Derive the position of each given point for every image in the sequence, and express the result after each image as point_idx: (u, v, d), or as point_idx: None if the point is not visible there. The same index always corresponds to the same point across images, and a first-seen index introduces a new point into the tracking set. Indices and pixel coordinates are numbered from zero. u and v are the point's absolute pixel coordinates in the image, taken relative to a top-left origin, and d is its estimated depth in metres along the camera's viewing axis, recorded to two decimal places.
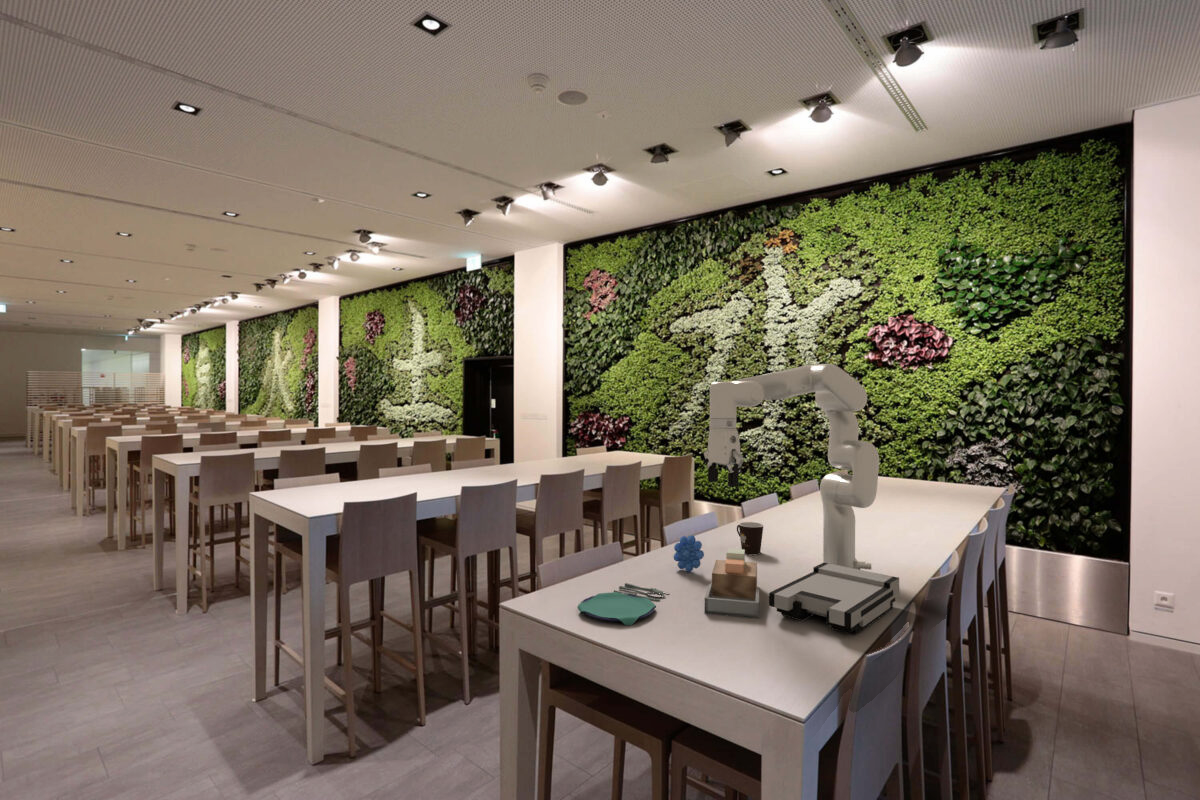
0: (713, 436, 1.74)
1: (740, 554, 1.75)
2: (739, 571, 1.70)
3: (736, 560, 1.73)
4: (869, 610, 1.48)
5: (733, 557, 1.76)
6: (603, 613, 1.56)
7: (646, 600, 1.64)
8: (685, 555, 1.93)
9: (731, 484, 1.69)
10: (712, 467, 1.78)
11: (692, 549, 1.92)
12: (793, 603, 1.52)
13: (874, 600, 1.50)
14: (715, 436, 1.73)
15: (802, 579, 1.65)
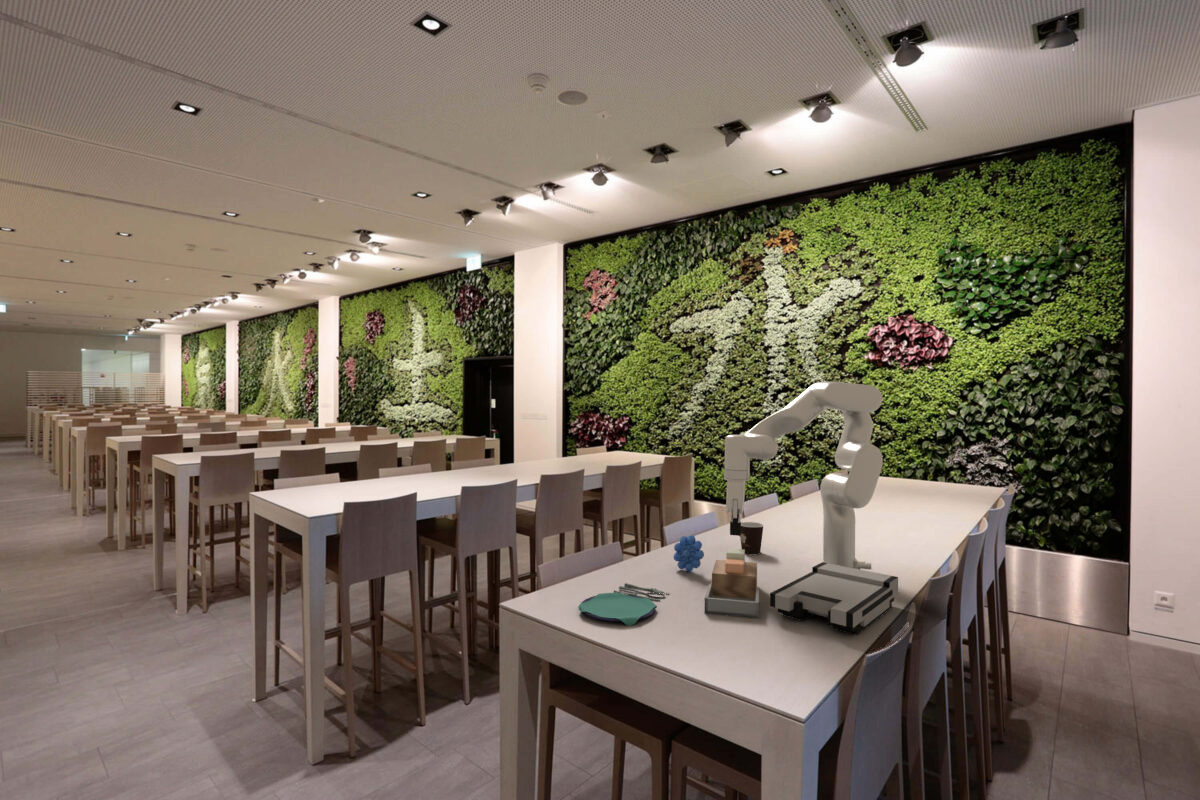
0: (744, 487, 1.84)
1: (740, 554, 1.75)
2: (739, 571, 1.70)
3: (736, 560, 1.73)
4: (870, 610, 1.48)
5: (733, 557, 1.76)
6: (604, 613, 1.55)
7: (646, 600, 1.64)
8: (685, 555, 1.93)
9: None
10: None
11: (692, 549, 1.92)
12: (794, 603, 1.52)
13: (874, 600, 1.50)
14: None
15: (802, 579, 1.65)
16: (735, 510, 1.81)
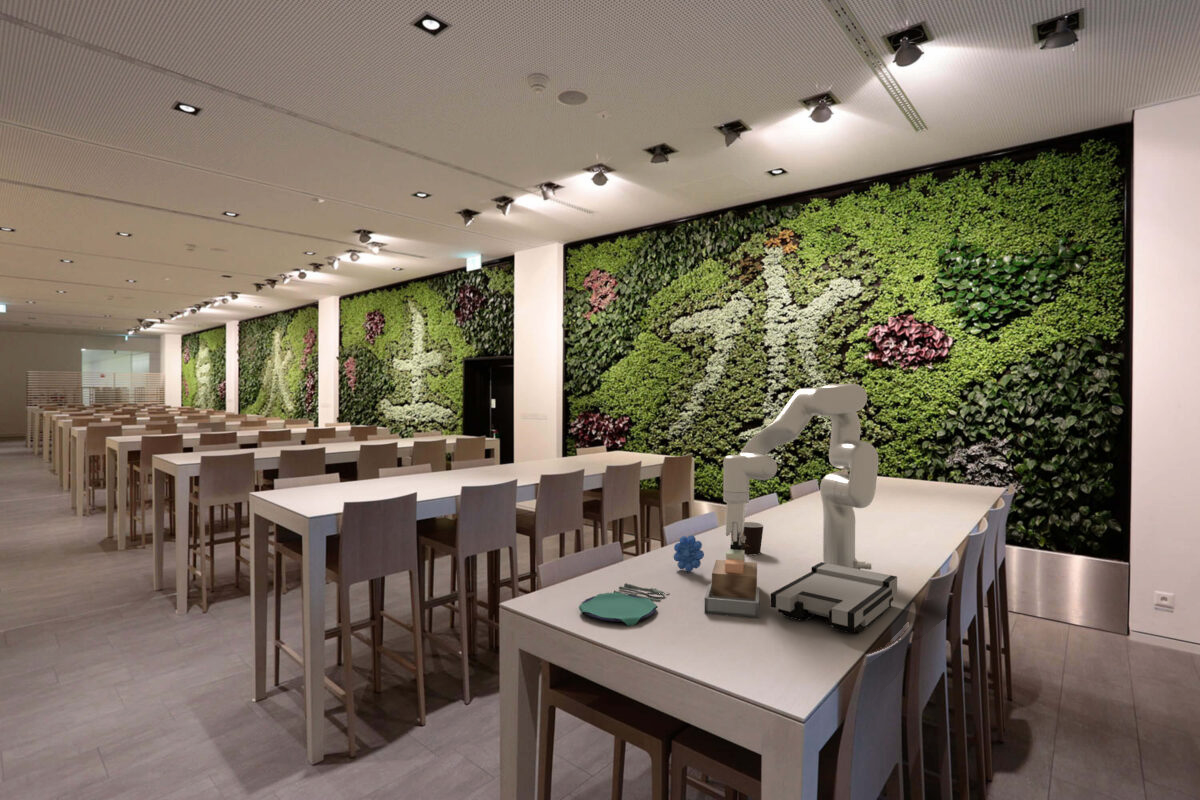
0: (744, 509, 1.80)
1: (740, 555, 1.74)
2: (738, 571, 1.69)
3: (736, 560, 1.73)
4: (870, 609, 1.48)
5: (733, 558, 1.75)
6: (605, 613, 1.55)
7: (647, 600, 1.64)
8: (685, 555, 1.93)
9: None
10: None
11: (692, 549, 1.92)
12: (795, 604, 1.52)
13: (875, 599, 1.50)
14: (744, 508, 1.81)
15: (801, 579, 1.65)
16: (735, 533, 1.77)
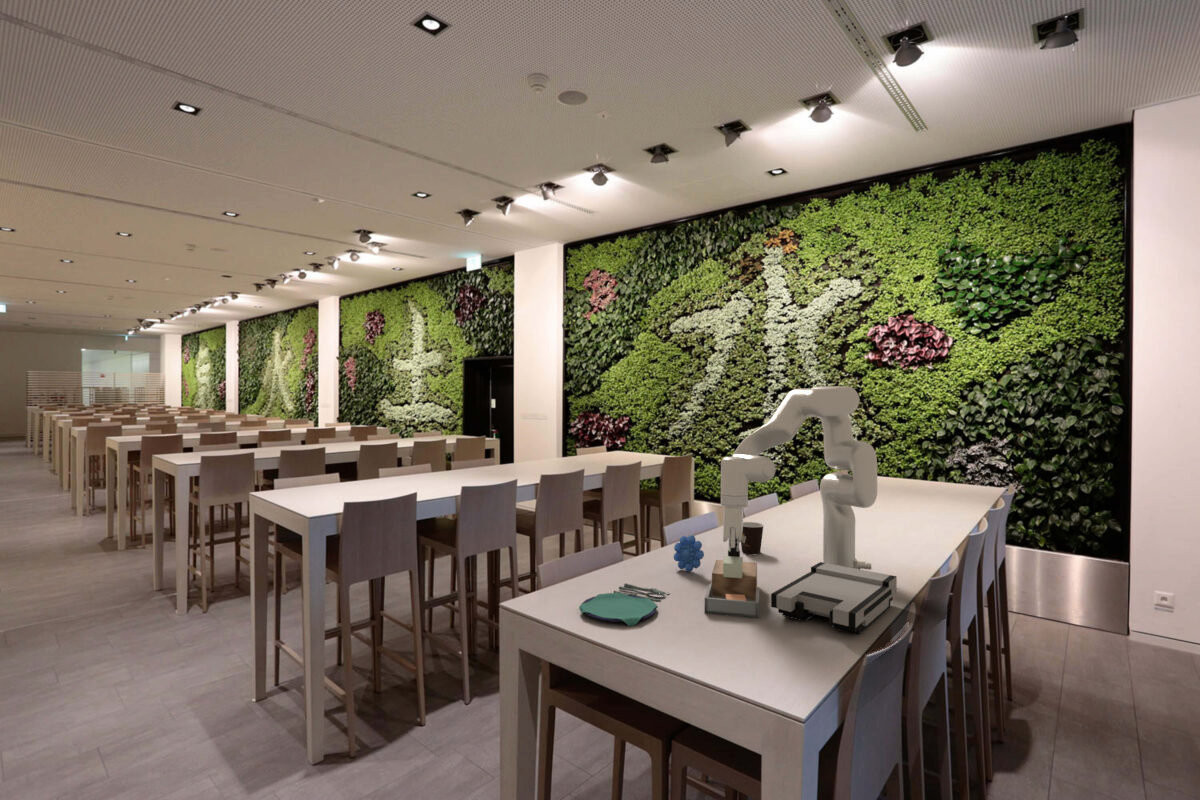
0: (742, 513, 1.71)
1: (738, 564, 1.66)
2: None
3: None
4: (871, 609, 1.48)
5: (730, 567, 1.66)
6: (605, 614, 1.55)
7: (647, 600, 1.64)
8: (685, 555, 1.93)
9: None
10: None
11: (692, 549, 1.92)
12: (795, 604, 1.52)
13: (875, 599, 1.50)
14: None
15: (801, 579, 1.65)
16: (733, 539, 1.68)
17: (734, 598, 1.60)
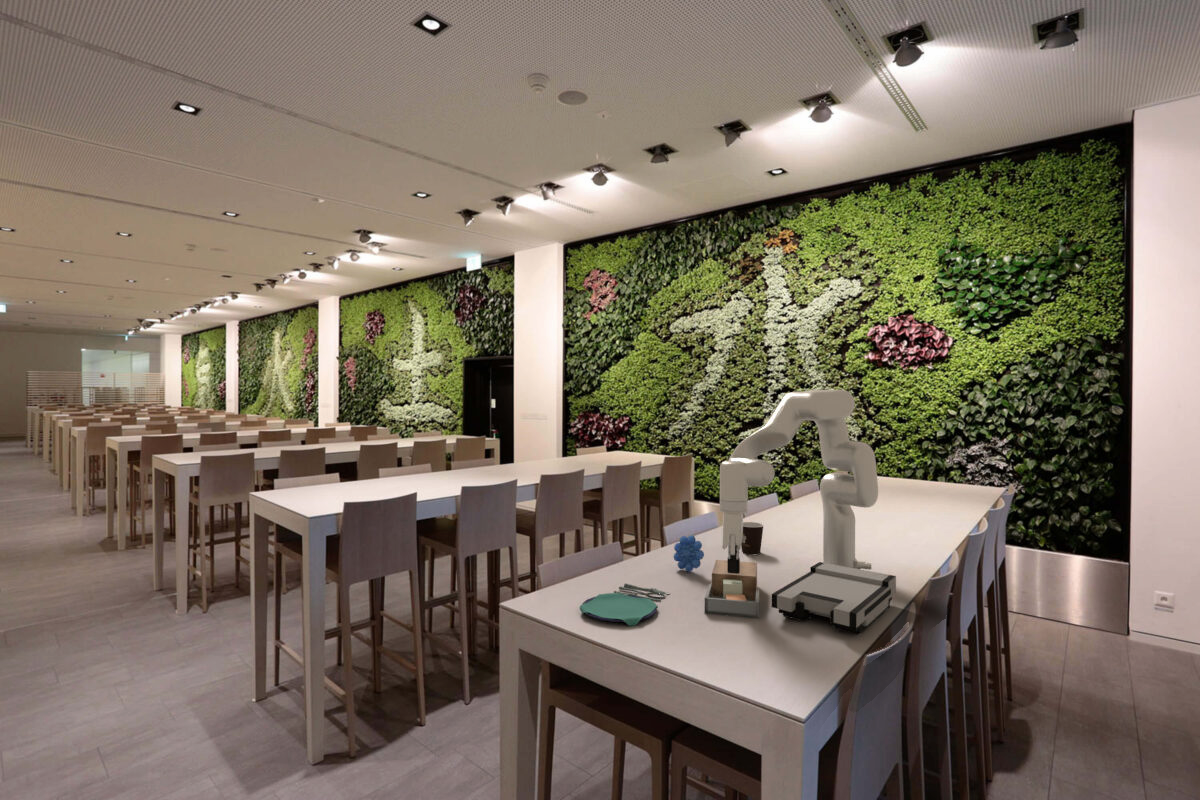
0: (742, 519, 1.65)
1: None
2: None
3: None
4: (871, 609, 1.48)
5: None
6: (606, 614, 1.55)
7: (647, 600, 1.64)
8: (685, 555, 1.93)
9: None
10: None
11: (692, 549, 1.92)
12: (796, 604, 1.52)
13: (875, 599, 1.50)
14: None
15: (801, 579, 1.65)
16: (733, 546, 1.62)
17: (734, 598, 1.60)
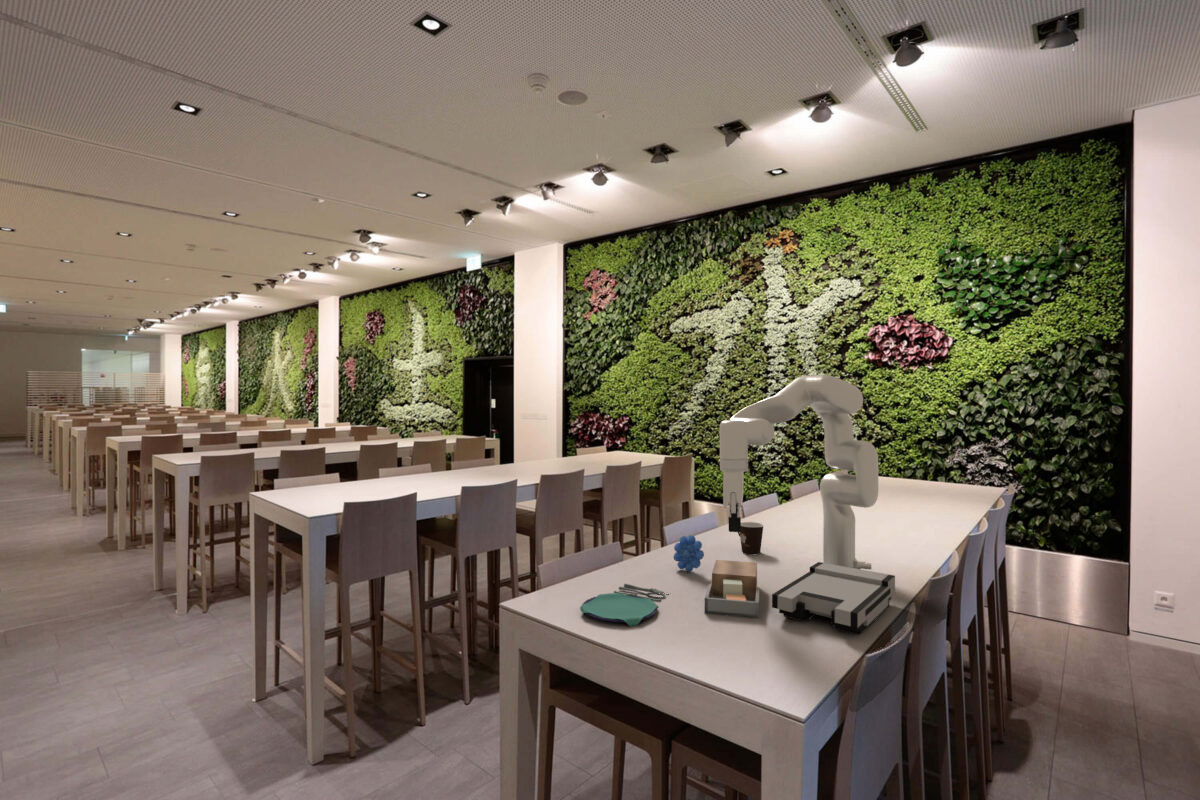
0: (743, 478, 1.65)
1: None
2: None
3: None
4: (871, 609, 1.48)
5: None
6: (606, 614, 1.55)
7: (648, 600, 1.64)
8: (685, 555, 1.93)
9: None
10: None
11: (692, 549, 1.92)
12: (796, 604, 1.51)
13: (875, 599, 1.51)
14: (743, 477, 1.66)
15: (801, 579, 1.65)
16: (733, 504, 1.62)
17: (734, 598, 1.60)
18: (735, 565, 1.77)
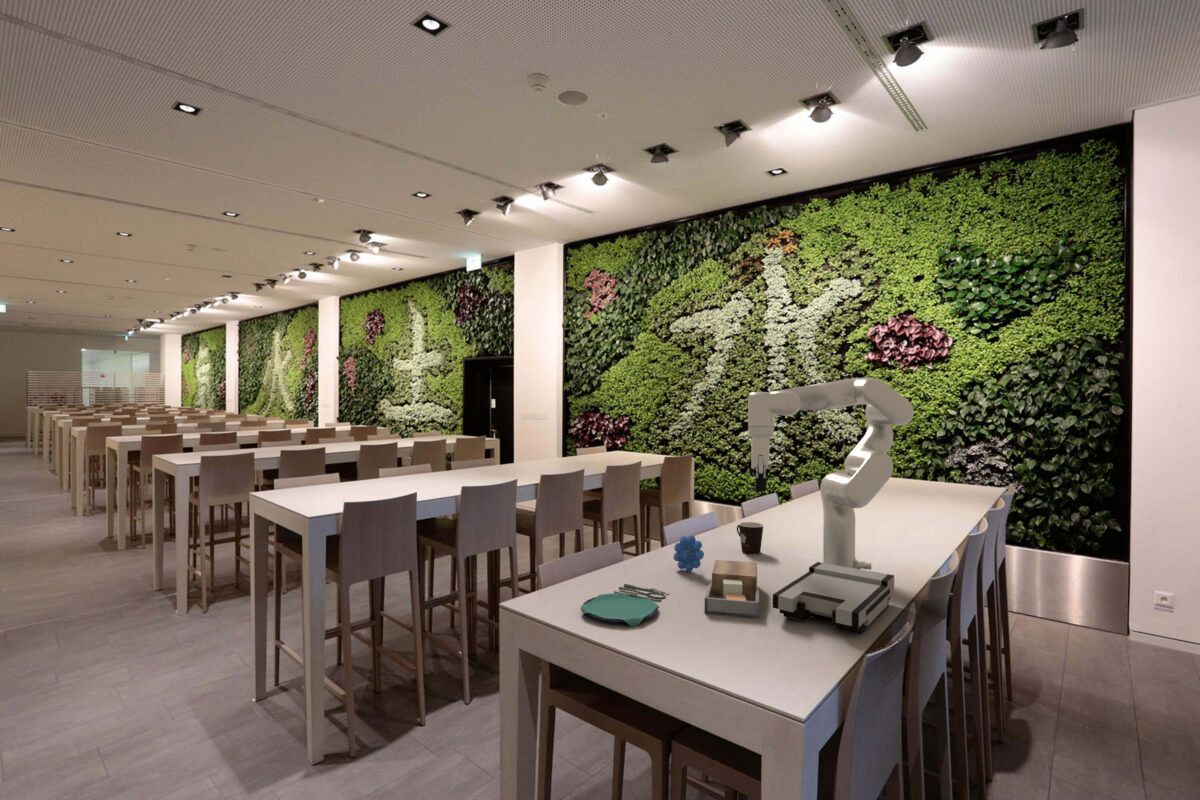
0: None
1: None
2: None
3: None
4: (872, 609, 1.48)
5: None
6: (607, 614, 1.55)
7: (648, 600, 1.64)
8: (685, 555, 1.93)
9: None
10: None
11: (692, 549, 1.92)
12: (797, 604, 1.51)
13: (876, 599, 1.51)
14: None
15: (800, 579, 1.65)
16: (761, 466, 1.83)
17: (734, 598, 1.60)
18: (735, 565, 1.77)
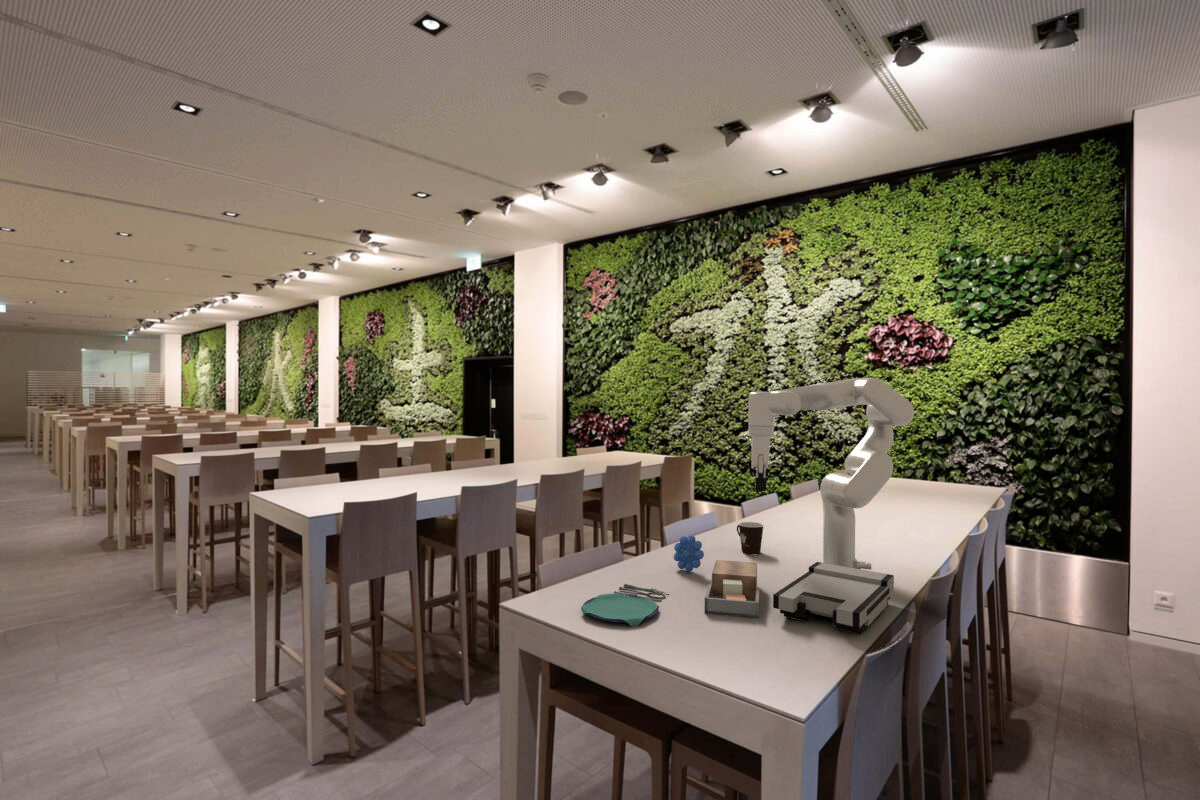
0: (769, 442, 1.86)
1: None
2: None
3: None
4: (872, 609, 1.48)
5: None
6: (607, 614, 1.55)
7: (648, 601, 1.64)
8: (685, 555, 1.93)
9: None
10: None
11: (692, 549, 1.92)
12: (797, 604, 1.51)
13: (876, 599, 1.51)
14: (769, 442, 1.87)
15: (800, 579, 1.65)
16: (761, 465, 1.83)
17: (734, 598, 1.60)
18: (735, 565, 1.77)
